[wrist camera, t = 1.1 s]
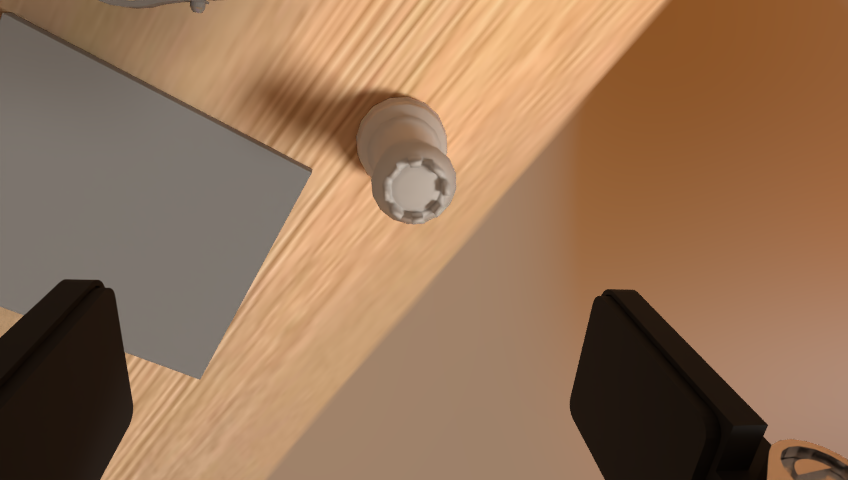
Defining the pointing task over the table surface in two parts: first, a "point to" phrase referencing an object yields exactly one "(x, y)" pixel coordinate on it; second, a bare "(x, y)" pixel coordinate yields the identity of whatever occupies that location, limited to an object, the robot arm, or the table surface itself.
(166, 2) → the alarm clock
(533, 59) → the table surface
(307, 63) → the table surface
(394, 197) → the rook chess piece
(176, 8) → the table surface
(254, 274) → the mat
